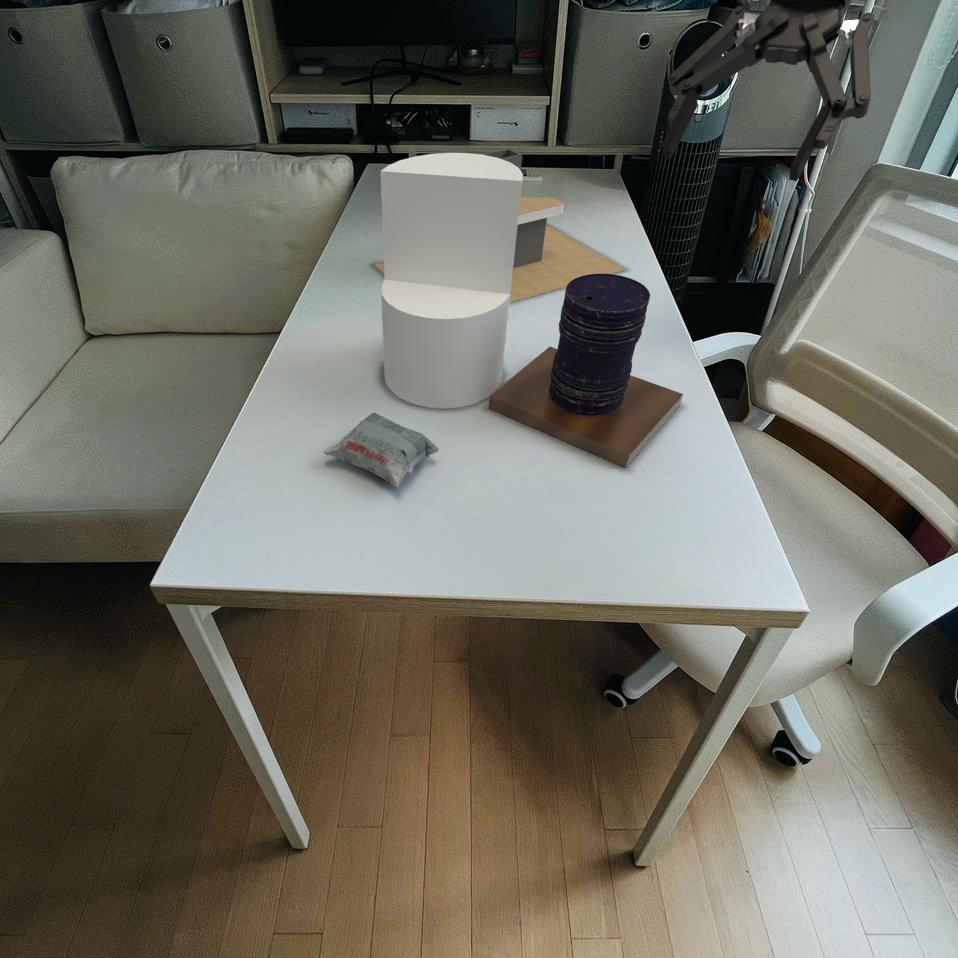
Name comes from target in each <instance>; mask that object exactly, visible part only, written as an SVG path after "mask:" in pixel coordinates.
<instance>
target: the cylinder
mask: <svg viewBox="0 0 958 958" xmlns="http://www.w3.org/2000/svg"><path fill="white" fill-rule="evenodd" d="M480 154H481V153H469V152H442V153H439V152H438V153H429V154H422V155H416V156H412V157H408V158H404V159H400V160H397V161H395V162H393V163H391V164H388V165H387V166H386V167H384V168H383V169H381V170H380V192H381V195H380V196H381V197H380V198H381V222H382V250H383V251H382V252H383V253H382V254H383V255H382V256H383V262H384V273H383V282H382V284H381V285H380V296H381V297H380V299H381V322H382V325H381V326H382V347H383V348H382V349H383V373H384V374H383V375H384V382H385V384H386V386H387V387H388V389H389V391H391V392H392V393H393V394H394V395H395V396H396V397H398V398H399V399H401V400H403V401H405V402H407V403H410V404H411V405H415V406H420V407H422V408H423V407H424V408H428V409H439V410H440V409H441V410H445V409H446V410H447V409H460V408H464V407H467V406H472V405H475V404H477V403H479V402H482V401H484V400H486V399H489V396H491V395H492V394H493V393H494V392H495V391H497V390H498V389H499V386H500V385H501V383H502V377H503V369H504V368H503V367H504V357H505V347H506V341H507V340H506V338H507V330H508V321H509V311H510V303H509V302H510V292H511V283H512V273H513V264H514V254H515V245H516V235H517V226H518V216H519V207H520V197H522V196H521V195H522V187H523V176H524V174H523V172H522V170H521V171H520V169H519V168H518V167H517V166H515V165H513V164H512V163H510V162H508V161H505V160H502V159H500V158H496V157H491V156H486V155H480Z"/></svg>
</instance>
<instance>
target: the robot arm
mask: <svg viewBox="0 0 958 958" xmlns="http://www.w3.org/2000/svg"><path fill="white" fill-rule="evenodd" d="M852 2H853V0H770V1H769V3H768V5H767V7H766V8H765V9H764V10H763V11H762V12H761V13H759V14H757V13H756V14H755V13H750V12H746V7H745V5H737V6H736V7H735V8H734V9H733V10H732V12H731V13H730V15H729V16H728V18H727V20H726V21H725V23H724V24H723V25H722V26H721V27H720V28H718V30H717V31H716V32H714V34H712V35H711V36H710V37H709V38H708V39H707V40H706V41H705V42H704V43H703V44H701V45H700V46H699V47H698V48H697V49H696V50H695V51H694V52H693V53H692V54H691V55H690V56H689V57H687V59H686V60H684V61H683V62H682V63H681V64H680V65H679V66H678V67H677V68H676V69H675V70H674V71H673V72H672V73H671V74H670V75H669V77H668V83H669V89H670V93H671V95H672V96H677V97H676V99H675V101H674V102H673V104H672V107H671V108H670V110H669V112H668V114H667V115H668V116H667V119H668V124H669V129H668V131H667V133H666V135H665V137H664V139H663V141H662V143H661V149H662V152H663V153H662V154H663V159H668V160H671V159H672V158H673V155H674V154H675V151H676V150H677V149H678V146H679V144H680V142H681V140H682V138H683V136H684V134H685V132H686V130H687V128H688V126H689V124H690V122H691V120H692V119H693V116H694V114H695V112H696V111H697V108H698V106H699V105H698V98H699V97H701V96H703V95H704V94H706V93H708V92H709V91H711V90H713V89H714V88H715V87H717V86H718V85H721V83H723V82H725V81H726V80H728V79H729V78H731V77H733V76H734V75H736V74H737V73H739V72H740V71H742V70H743V69H745V68H746V67H748V68H750V67H753V66H755V65H756V64H758V63H759V62H761V61H762V60H765V63H768V64H776V63H784V64H786V65H792V66H797V64H798V63H802V62H805V64H806V66H807V69H808V71H809V72H810V73H811V74H812V77H813V79H814V82H815V83H816V87H817V90H818V91H819V93H820V97H821V99H822V101H823V104H824V105H822V106H821V108H820V110H819V111H818V113H817V115H816V117H815V119H814V121H813V122H812V124H811V126H810V128H809V130H808V132H807V134H806V135H805V138H804V140H803V142H802V144H801V146H800V147H799V149H798V151H797V153H796V155H795V157H794V158H793V161H792V163H790V164H791V165H790V169H789V181H793V182H798V181H799V178H800V177H801V175H802V173H803V171H804V169H805V167H806V165H807V163H808V161H809V160H810V159H811V158H810V157H811V156H812V154H813V153H814V150H815V149H820V150H825V148H827V147H828V146H829V144H830V142H831V140H832V139H833V137H834V135H835V134H836V131H837V129H838V128H839V125H840V124H841V122H842V121H844V120H845V119H847V118H854V119H857V120H858V119H862V118H864V117H866V115H867V114H868V111H869V107H870V103H871V98H872V93H871V91H872V90H871V75H870V73H871V72H870V56H869V55H870V54H869V39H870V37H871V34H872V28H873V25H874V19H875V15H874V13H873V12H865V13H863V14H862V15H861V16H860V17H859V19H844V17H845V16H846V13H847V12H848V9H849V8H850V6H851V4H852ZM751 30H754V31H753V32H752V33H750V34H749V35H748V36H746V37H744V36H745V34H746V33H747V32H749V31H751ZM839 37H843V38H844V45H846V46H847V48H850V54H849V64H850V65H849V67H850V81H851V82H850V84H851V87H850V88H851V97H849V94H848V93H847V94H846V93H845V90H844V88H843V86H842V84H841V81H840V79H839V76H838V73H837V71H836V70H835V66H834V64H833V61H832V59H831V57H830V54H829V52H828V45H830V44H831V43H832V42H834V41H835V40H837V39H838V38H839ZM743 38H744V39H743ZM738 39H743V41H742V42H741V43H740V44H738V46H736V47H734V48H732V49H731V47H732V46H733V45H734V44H735V43H736V41H737V40H738ZM757 46H758V47H757ZM756 47H757V48H756ZM729 49H731V50H730V51H728V50H729ZM727 51H728V52H727ZM726 52H727V53H726Z"/></svg>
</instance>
